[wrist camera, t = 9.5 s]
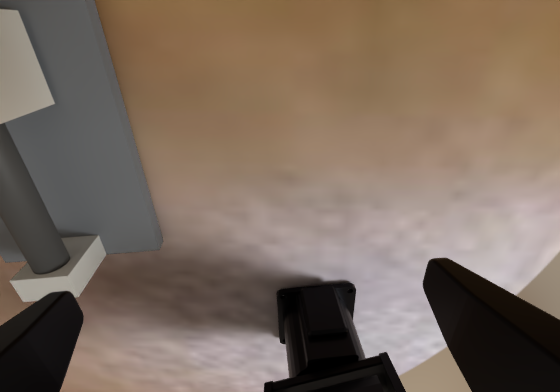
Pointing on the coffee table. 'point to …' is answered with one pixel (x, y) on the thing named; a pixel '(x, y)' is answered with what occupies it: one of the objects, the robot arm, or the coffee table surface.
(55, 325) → the robot arm
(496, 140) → the coffee table surface
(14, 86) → the sleeve
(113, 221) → the grey rod slide mechanism
